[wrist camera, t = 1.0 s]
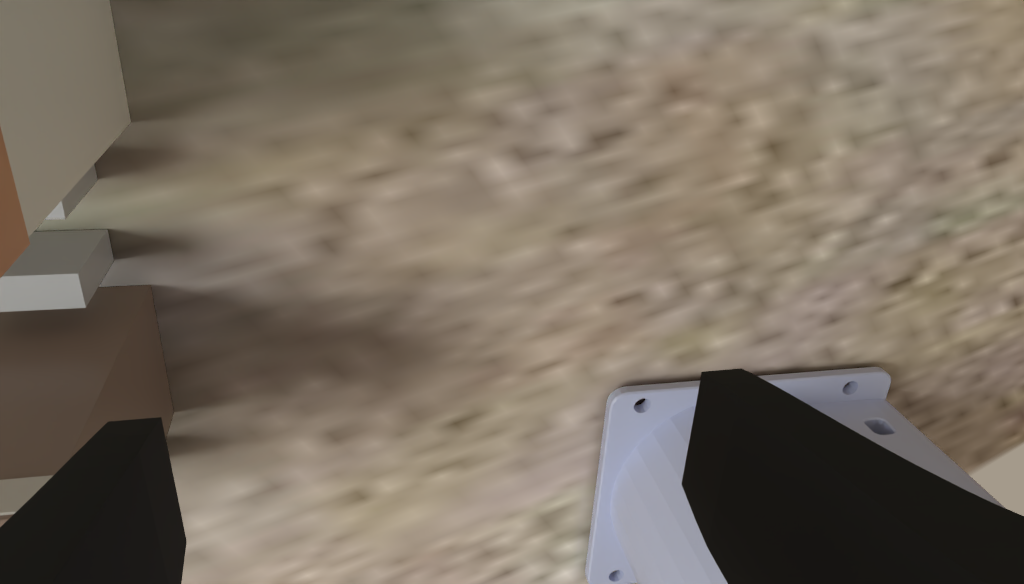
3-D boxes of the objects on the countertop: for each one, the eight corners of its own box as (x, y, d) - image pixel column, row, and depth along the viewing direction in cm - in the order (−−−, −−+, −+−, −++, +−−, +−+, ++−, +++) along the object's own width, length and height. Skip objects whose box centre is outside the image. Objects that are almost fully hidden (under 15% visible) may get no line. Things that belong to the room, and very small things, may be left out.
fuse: (152, 282, 19) (45, 513, 12) (176, 414, 20) (96, 681, 13) (-27, 290, 18) (-256, 542, 11) (13, 426, 20) (-161, 717, 13)
